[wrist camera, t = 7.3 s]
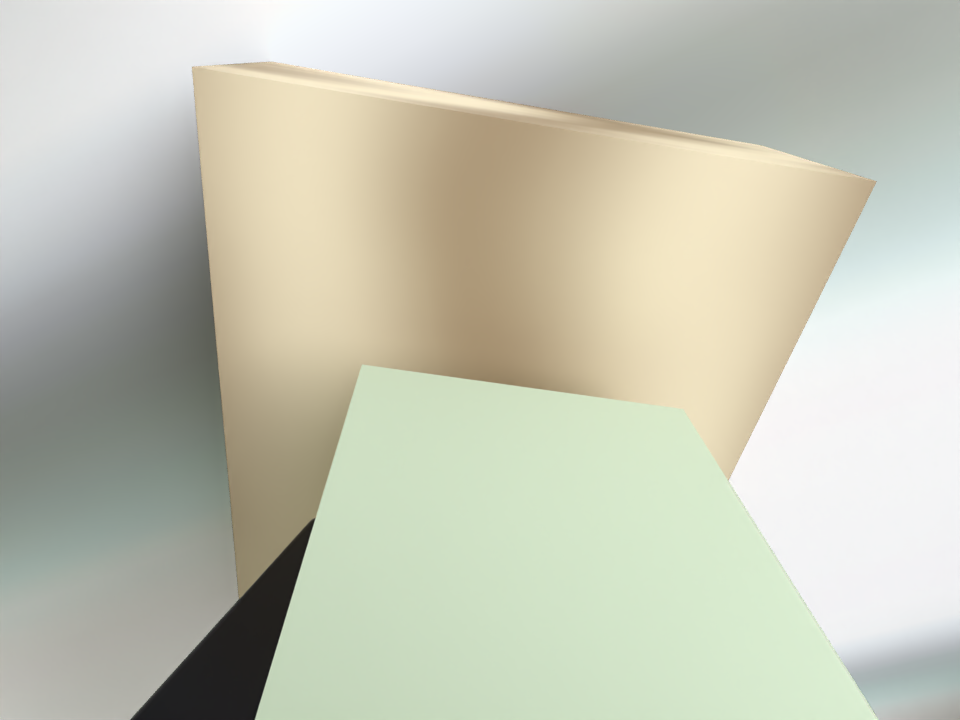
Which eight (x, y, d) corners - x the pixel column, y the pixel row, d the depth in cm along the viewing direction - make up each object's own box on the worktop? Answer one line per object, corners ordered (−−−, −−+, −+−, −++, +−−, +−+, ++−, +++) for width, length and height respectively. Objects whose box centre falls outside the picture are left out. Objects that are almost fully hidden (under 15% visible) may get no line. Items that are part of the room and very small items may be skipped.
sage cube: (682, 408, 9) (915, 777, 4) (593, 611, 11) (682, 979, 7) (362, 364, 8) (248, 740, 4) (340, 589, 10) (257, 978, 6)
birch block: (752, 142, 12) (875, 181, 8) (605, 535, 18) (642, 654, 14) (277, 61, 11) (191, 66, 7) (286, 508, 16) (241, 631, 13)
